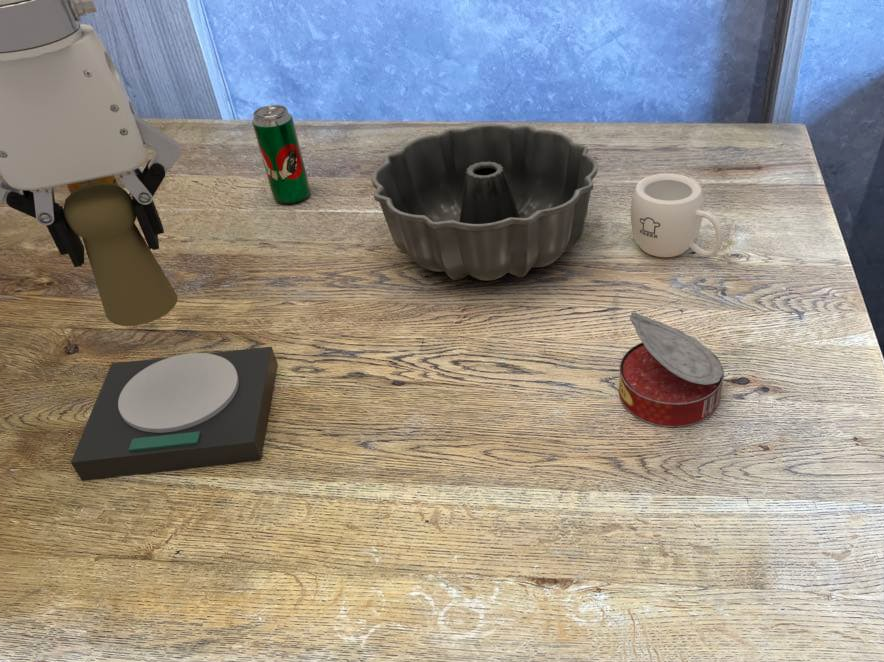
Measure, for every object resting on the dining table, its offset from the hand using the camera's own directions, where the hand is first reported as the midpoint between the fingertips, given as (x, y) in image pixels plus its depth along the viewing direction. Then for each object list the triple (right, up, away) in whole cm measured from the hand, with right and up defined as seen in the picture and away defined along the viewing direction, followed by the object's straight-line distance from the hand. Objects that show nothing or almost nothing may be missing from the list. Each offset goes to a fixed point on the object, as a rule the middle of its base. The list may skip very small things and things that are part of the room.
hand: (116, 248), depth 68 cm
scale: (+1, -14, +11) cm, 18 cm away
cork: (0, -4, +4) cm, 6 cm away
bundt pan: (+29, +7, +34) cm, 45 cm away
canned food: (+48, -12, +12) cm, 51 cm away
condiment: (-26, +14, +45) cm, 54 cm away
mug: (+52, +5, +31) cm, 60 cm away
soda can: (+1, +15, +44) cm, 47 cm away
